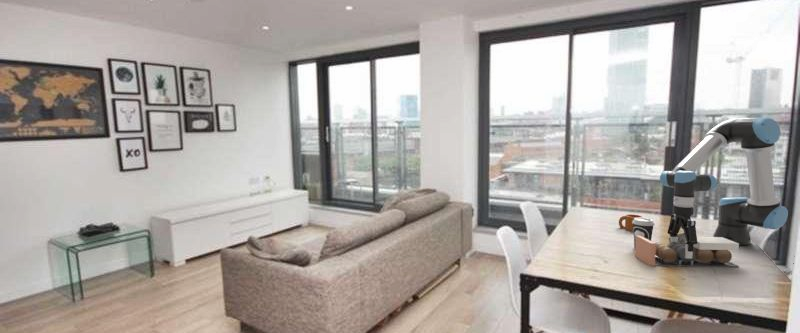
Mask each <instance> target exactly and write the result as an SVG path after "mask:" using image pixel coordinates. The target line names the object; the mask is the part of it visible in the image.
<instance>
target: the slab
mask: <svg viewBox="0 0 800 333" xmlns="http://www.w3.org/2000/svg"><path fill="white" fill-rule="evenodd" d="M697 242H698V243H697V244H694V245H693V247H695V248H697V249H699V250H706V249H707V250H728V251H739V250H740V249H739V248H740V245H739V243H736V242H734V241H731V240H728V239H726V238H723V237H713V236H697ZM685 243H687V241H686V237H685Z"/></svg>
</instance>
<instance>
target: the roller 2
mask: <svg viewBox="0 0 800 333" xmlns="http://www.w3.org/2000/svg"><path fill="white" fill-rule="evenodd" d="M666 246H667V247H669V248H671V249H673V250H675V251H676V253H677V258H679V259H681V260H683V261H685V262H690V261H692V260H693V259H694V257H695V253H694V251H693V256H692V259H689V258H685V246H683V245H681V244H679V243H677V242H671V243H668V245H666Z"/></svg>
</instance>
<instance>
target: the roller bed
mask: <svg viewBox="0 0 800 333" xmlns="http://www.w3.org/2000/svg"><path fill="white" fill-rule="evenodd" d="M654 267H684V268H686V267H689V268H691V267H699V268H700V267H701V268H739V265H737V264H735V263H733V262H730V261H729V262H727V263H721V262H719V261H717V260H715V259H712V261H710V262H708V263H704V262H701V261H699V260H697V259H695V258H694V259H693V260H692V261H690V262H685V261H683V260H681V259H679V258H676V260H675V261H673V262H666V261H664V260H663V259H661V258H659V257H657V256H656V255H655V266H654Z"/></svg>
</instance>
